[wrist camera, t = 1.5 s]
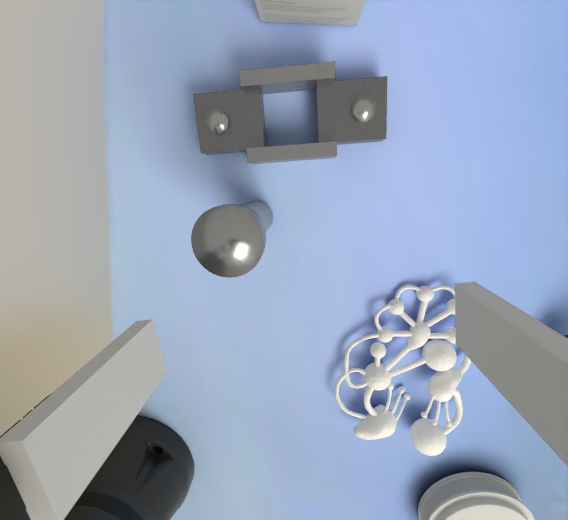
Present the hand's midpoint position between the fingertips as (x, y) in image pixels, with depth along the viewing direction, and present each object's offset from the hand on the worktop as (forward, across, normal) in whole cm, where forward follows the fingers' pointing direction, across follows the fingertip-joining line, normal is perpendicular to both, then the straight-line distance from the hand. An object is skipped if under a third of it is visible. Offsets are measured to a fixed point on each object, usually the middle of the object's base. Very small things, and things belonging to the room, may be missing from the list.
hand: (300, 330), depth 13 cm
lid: (+20, +16, -38) cm, 46 cm away
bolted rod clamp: (+20, 0, +12) cm, 23 cm away
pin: (+20, -4, +3) cm, 21 cm away
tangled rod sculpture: (+20, +9, -16) cm, 28 cm away
